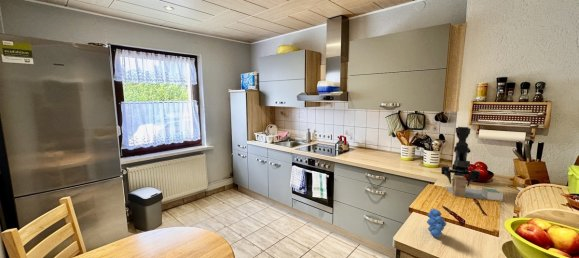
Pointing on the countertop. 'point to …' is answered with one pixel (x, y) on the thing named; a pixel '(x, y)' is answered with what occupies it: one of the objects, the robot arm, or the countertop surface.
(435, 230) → the grapes
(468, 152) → the robot arm
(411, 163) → the countertop surface
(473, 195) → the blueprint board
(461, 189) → the walnut pillar
